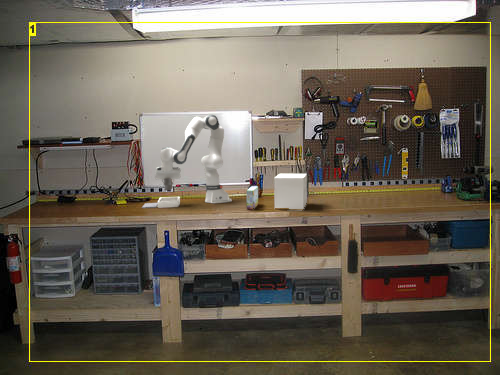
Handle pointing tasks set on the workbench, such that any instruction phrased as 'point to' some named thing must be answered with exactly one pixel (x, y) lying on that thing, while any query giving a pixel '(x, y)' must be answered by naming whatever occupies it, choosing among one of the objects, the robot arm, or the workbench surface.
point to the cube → (290, 191)
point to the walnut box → (168, 184)
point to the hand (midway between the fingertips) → (168, 184)
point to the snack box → (252, 197)
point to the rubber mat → (150, 205)
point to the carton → (168, 202)
